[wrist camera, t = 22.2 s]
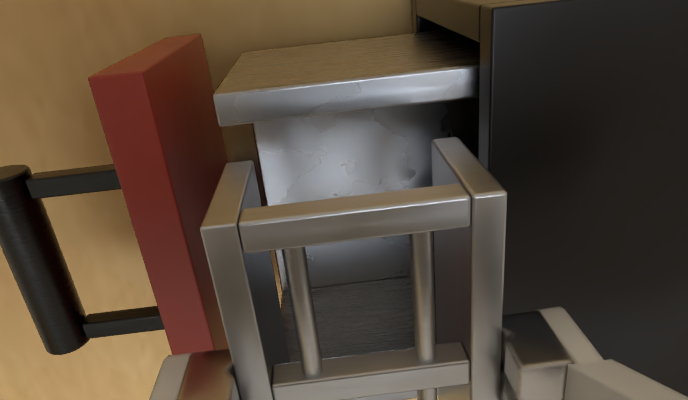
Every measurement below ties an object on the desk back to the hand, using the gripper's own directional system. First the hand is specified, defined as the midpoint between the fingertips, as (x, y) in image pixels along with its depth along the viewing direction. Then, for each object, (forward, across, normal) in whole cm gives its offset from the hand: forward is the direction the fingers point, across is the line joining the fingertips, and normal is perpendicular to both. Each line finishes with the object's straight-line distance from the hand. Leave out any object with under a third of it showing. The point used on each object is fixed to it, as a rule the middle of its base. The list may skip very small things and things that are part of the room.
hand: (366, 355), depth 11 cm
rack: (+2, 0, 0) cm, 2 cm away
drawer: (+10, +1, 0) cm, 10 cm away
